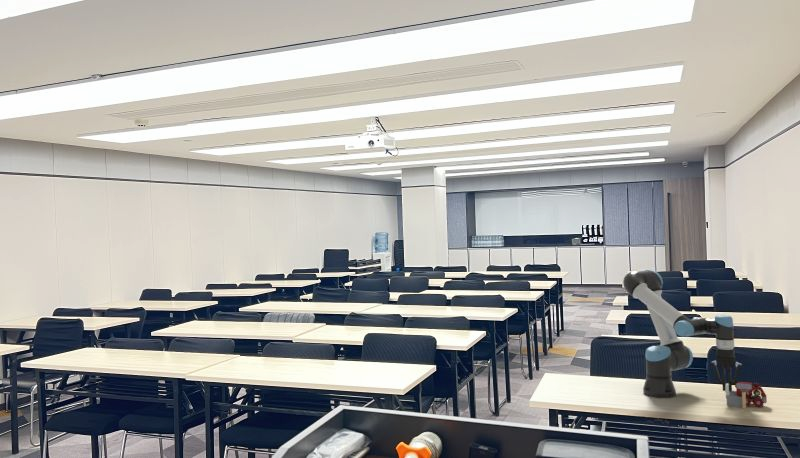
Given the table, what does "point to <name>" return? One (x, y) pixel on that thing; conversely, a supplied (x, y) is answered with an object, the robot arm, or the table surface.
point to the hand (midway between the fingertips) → (727, 397)
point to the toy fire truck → (748, 389)
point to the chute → (736, 399)
